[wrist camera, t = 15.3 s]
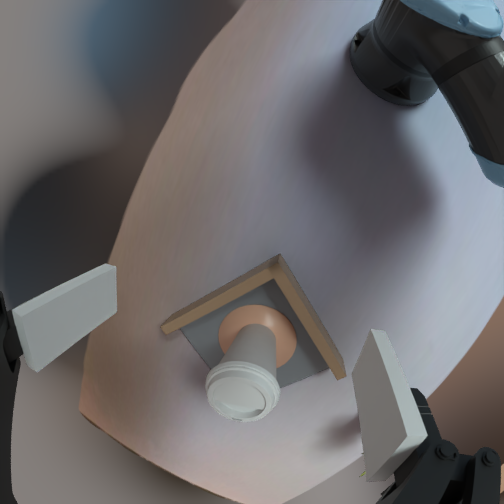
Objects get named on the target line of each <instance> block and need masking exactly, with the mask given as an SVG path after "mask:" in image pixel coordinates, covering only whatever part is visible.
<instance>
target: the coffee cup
mask: <svg viewBox="0 0 504 504" xmlns="http://www.w3.org/2000/svg"><path fill="white" fill-rule="evenodd" d="M205 389H206V394H207V398H208V401H209V403H210V405H211V407H212V408H213V409H214V410H215V411H216V412H217V413H219V414H220V415H222V416H223V417H225V418H228V419H230V420H234V421H238V422H252V421H256V420H259V419H261V418H263V417H265V416H266V415H267V414H268V413H269V412H270V411H271V410H272V409H273V408H274V407H275V406H276V404H277V402H278V400H279V398H280V387H279V384H278V382H277V380H276V337H275V335H274V333H273V332H272V331H271V330H270V329H269V328H268V327H266V326H264V325H261V324H249V325H246V326H244V327H243V328H242V329H241V330H240V331H239V332H238V334H237V336H236V337H235V339H234V341H233V342H232V344H231V345H230V347H229V349H228V350H227V352H226V353H225V355H224V357H223V358H222V360H221V361H220V363H219V364H218V365H217V366H215V367H214V368H213V369H211V371H210V372H209V373H208V375H207V377H206V381H205Z"/></svg>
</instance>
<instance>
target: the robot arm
mask: <svg viewBox="0 0 504 504" xmlns="http://www.w3.org/2000/svg"><path fill="white" fill-rule="evenodd" d="M499 13H500V12H499V10H498V8H497V6H496V5H495V3H494V2H493V1H492V0H383V1H382V3H381V6H380V8H379V10H378V13H377V15H376V18H375V19H374V20H372V21H371V22H369V23H367V24H366V25H364V26H363V27H361V28H360V29H359V30H358V31H357V33H356V34H355V36H354V38H353V41H352V44H351V47H350V59H351V63H352V66H353V68H354V70H355V72H356V74H357V75H358V77H359V78H360V80H361V81H362V82H363V83H364V84H365V85H366V86H367V87H368V88H369V89H370V90H371V91H372V92H373V93H375V94H376V95H378V96H379V97H381V98H383V99H385V100H387V101H389V102H392V103H395V104H399V105H406V106H410V105H417V104H420V103H422V102H424V101H426V100H427V99H429V98H430V97H432V96H433V95H434V94H435V92H436V91H437V89H438V88H439V90H440V91H441V93H442V94H443V96H444V98H445V99H446V101H447V103H448V104H449V106H450V108H451V110H452V111H453V113H454V115H455V117H456V119H457V120H458V122H459V124H460V126H461V128H462V130H463V132H464V134H465V136H466V138H467V140H468V142H469V147H470V150H471V151H472V153H473V154H474V155H475V156H476V159H477V161H478V163H479V165H480V167H481V169H482V172H483V173H484V175H485V176H486V178H488V179H489V180H490V181H491V182H492V183H494V184H495V185H498V186H500V187H503V188H504V41H503V39H502V38H501V36H500V34H501V32H502V29H503V19H502V16H501V15H500V14H499ZM116 312H117V293H116V267H115V266H112V265H109V264H104V265H101V266H99V267H97V268H95V269H93V270H91V271H88V272H86V273H84V274H82V275H80V276H78V277H76V278H74V279H72V280H69V281H68V282H65V283H63V284H61V285H59V286H57V287H55V288H53V289H51V290H49V291H47V292H45V293H43V294H40V295H38V296H36V297H34V298H32V299H30V300H29V301H26V302H25V303H23V304H21V305H19V306H17V307H15V308H13V309H11V310H9V311H6V307H5V302H4V298H3V294H2V292H1V291H0V504H18V503H17V501H16V500H15V498H14V495H13V493H12V484H11V430H12V417H13V408H14V400H15V392H16V387H17V381H18V374H19V369H20V358H19V357H20V356H21V355H23V354H24V358H25V361H26V364H27V365H28V366H29V367H30V368H32V369H33V370H34V371H35V372H39V371H40V370H41V369H42V368H44V367H45V366H46V365H47V364H49V363H50V362H51V361H53V360H54V359H55V358H56V357H58V356H59V355H60V354H61V353H63V352H64V351H66V350H67V349H68V348H69V347H71V346H72V345H73V344H75V343H76V342H77V341H79V340H80V339H81V338H83V337H84V336H85V335H87V334H88V333H89V332H91V331H92V330H93V329H95V328H96V327H97V326H99V325H100V324H101V323H103V322H104V321H105V320H107V319H108V318H109V317H111V316H112V315H114V314H115V313H116ZM352 378H353V384H354V390H355V396H356V402H357V408H358V415H359V422H360V429H361V436H362V444H363V453H364V461H365V472H366V481H367V482H376V481H386V480H387V479H388V478H389V477H390V476H391V475H392V474H393V473H394V476H395V482H394V483H392V484H391V485H390V486H389V487H388V488H387V489H386V490H385V491H383V492H382V493H381V495H382V497H381V498H380V499H379V501H378V502H377V503H376V504H499V501H500V485H501V461H500V457H499V455H498V454H497V452H496V451H495V450H493V449H491V448H489V447H483V448H480V449H479V450H478V451H477V453H476V454H475V455H474V456H470V455H464V454H459V452H458V449H457V448H456V447H455V445H454V444H452V443H451V442H450V441H446V440H442V438H441V436H440V433H439V430H438V428H437V425H436V423H435V421H434V418H433V415H431V411H430V408H429V407H428V403H427V401H426V399H425V396H424V395H423V394H422V393H421V392H420V391H419V390H418V389H417V388H410V387H409V384H408V382H407V380H406V377H405V375H404V372H403V370H402V368H401V365H400V363H399V361H398V358H397V356H396V354H395V352H394V349H393V347H392V345H391V343H390V341H389V339H388V336H387V334H386V332H385V331H382V330H376V329H370V332H369V334H368V337H367V339H366V342H365V344H364V347H363V349H362V351H361V354H360V356H359V358H358V361H357V363H356V365H355V367H354V370H353V372H352Z"/></svg>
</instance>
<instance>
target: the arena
mask: <svg viewBox="0 0 504 504" xmlns="http://www.w3.org/2000/svg"><path fill="white" fill-rule="evenodd" d="M249 324H261V325H264V326H266V327H268V328H269V329H270V330H271V331H272V332H273V333H274V335H275V337H276V380H277V382H278V384H279V387H280V388H282V387H285V386H287V385H290V384H292V383H295V382H297V381H300V380H302V379H304V378H307V377H309V376H311V375H314V374H316V373H318V372H320V371H323V370H325V369H327V368H330V369H331V371H332V372H333V374H334V376H335V377H336V379H337V380H339V379H341V378H344V377H346V371H345V367H344V362H343V358H342V357H341V355H340V353H339V352H338V350H337V348H336V346H335V345H334V343H333V341H332V339H331V338H330V336H329V334H328V333H327V331H326V329H325V327H324V326H323V324H322V322H321V321H320V319H319V317H318V316H317V314H316V312H315V311H314V309H313V307H312V305H311V304H310V302H309V300H308V299H307V297H306V295H305V294H304V292H303V290H302V289H301V287H300V285H299V284H298V282H297V280H296V279H295V277H294V275H293V274H292V272H291V271H290V269H289V267H288V266H287V264H286V262H285V261H284V259H283V257H282V256H281V254H278V255H276V256H275V257H273V258H271V259H270V260H268V261H266V262H264V263H263V264H261V265H259V266H257V267H256V268H254V269H252V270H250V271H249V272H247V273H245V274H243V275H242V276H240V277H238V278H236V279H235V280H233V281H231V282H229V283H228V284H226V285H224V286H222V287H220V288H219V289H217V290H215V291H213V292H212V293H210V294H208V295H206V296H204V297H203V298H201V299H199V300H197V301H196V302H194V303H192V304H190V305H188V306H187V307H185V308H183V309H181V310H179V311H178V312H176V313H174V314H172V315H171V316H170V317H169V318H168V320H167V321H166V322H165V323H164V324H163V325H162V326H161V327H160V328H161V329H162V330H163V332H164V333H165V334H166V335H167V334H169V333H171V332H173V331H175V330H177V329H179V328H180V329H181V330H182V332H183V333H184V335H185V336H186V337H187V339H188V340H189V341H190V343H191V344H192V345H193V347H194V348H195V349H196V351H197V352H198V353H199V355H200V356H201V357H202V358H203V360H204V361H205V362H206V364H207V365H208V366H209V367H210V369H213V368H214V367H215V366H217V365H218V364H219V363H220V361H221V360H222V358H223V357H224V355H225V353H226V352H227V350H228V349H229V347H230V345H231V344H232V342H233V341H234V339H235V337H236V336H237V334H238V332H239V331H240V330H241V329H242V328H243V327H244V326H246V325H249Z"/></svg>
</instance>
